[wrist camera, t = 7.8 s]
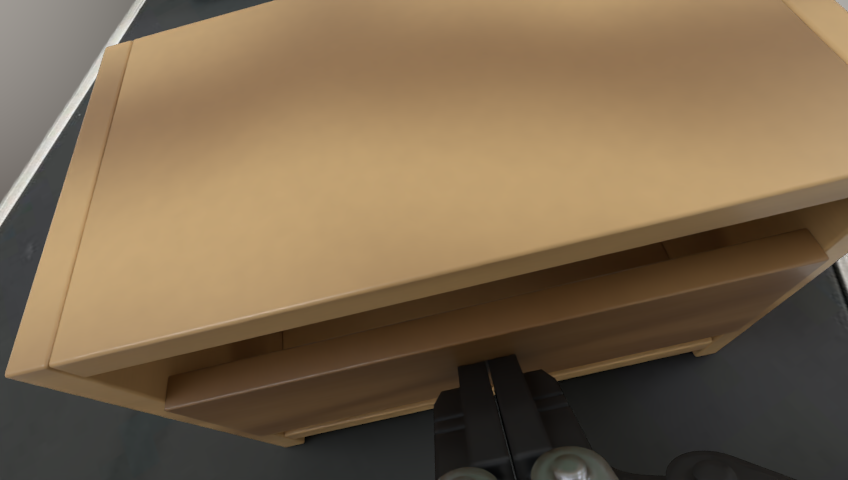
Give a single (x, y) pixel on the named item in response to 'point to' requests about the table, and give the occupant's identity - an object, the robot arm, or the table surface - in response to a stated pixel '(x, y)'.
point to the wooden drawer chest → (433, 201)
